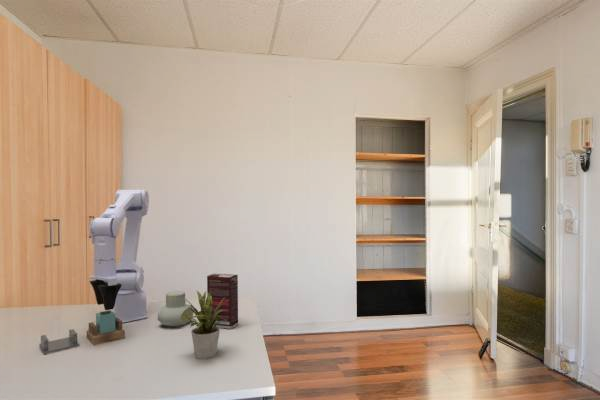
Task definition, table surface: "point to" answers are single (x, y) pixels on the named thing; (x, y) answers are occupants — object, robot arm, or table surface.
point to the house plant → (204, 327)
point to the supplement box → (224, 298)
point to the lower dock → (59, 343)
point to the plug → (105, 322)
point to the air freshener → (175, 310)
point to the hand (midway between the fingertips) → (105, 306)
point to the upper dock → (106, 337)
